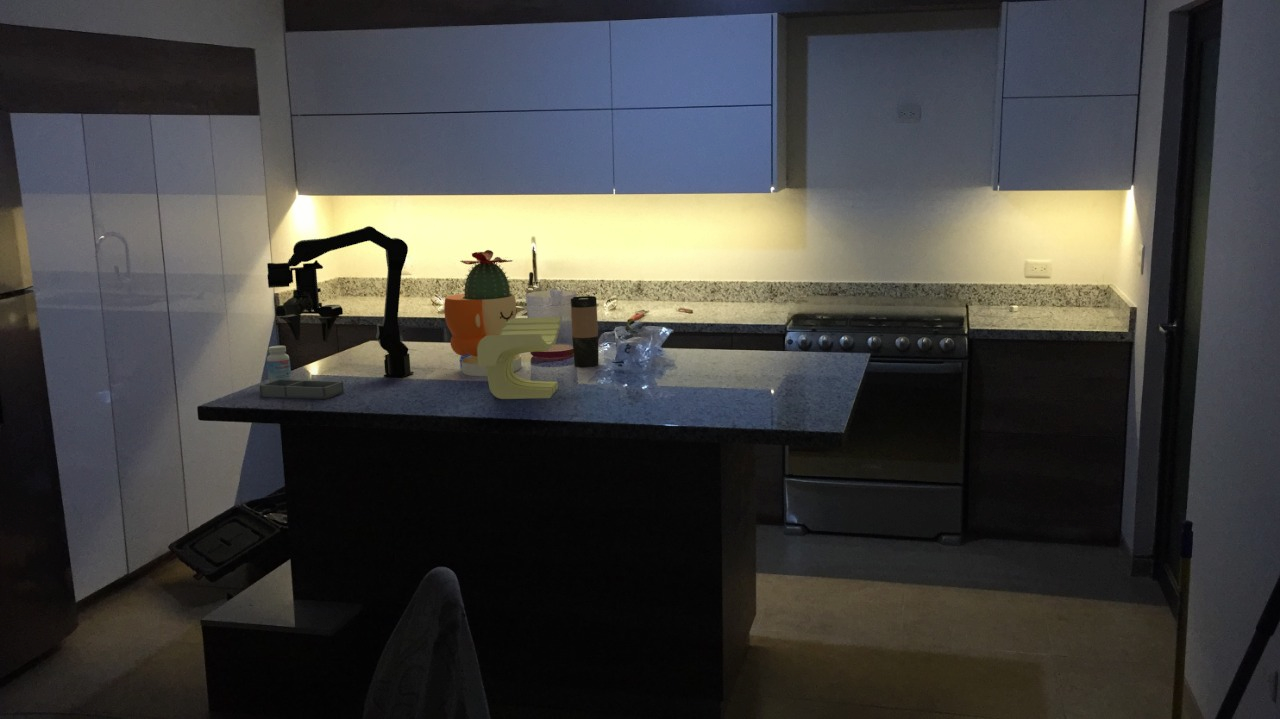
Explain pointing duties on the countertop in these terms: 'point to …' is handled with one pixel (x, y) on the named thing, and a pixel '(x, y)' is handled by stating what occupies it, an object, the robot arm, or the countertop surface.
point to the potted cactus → (480, 310)
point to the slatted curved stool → (513, 341)
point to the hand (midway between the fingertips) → (311, 340)
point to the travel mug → (584, 331)
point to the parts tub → (301, 389)
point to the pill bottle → (278, 364)
